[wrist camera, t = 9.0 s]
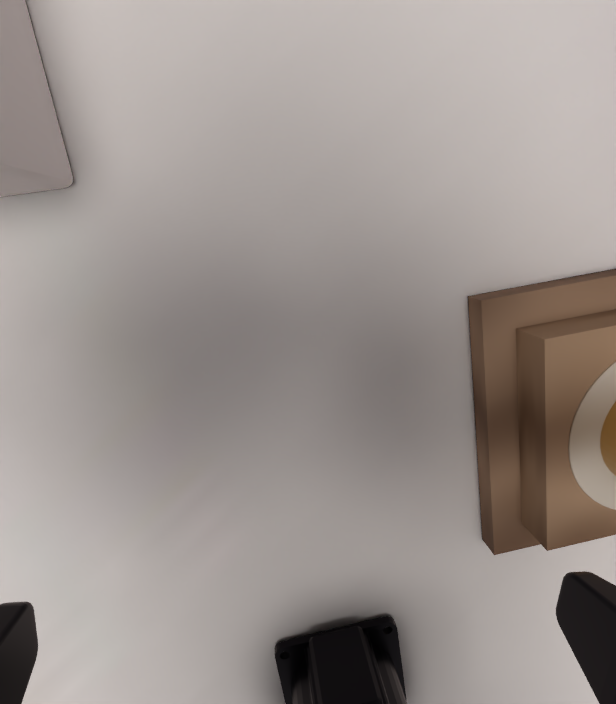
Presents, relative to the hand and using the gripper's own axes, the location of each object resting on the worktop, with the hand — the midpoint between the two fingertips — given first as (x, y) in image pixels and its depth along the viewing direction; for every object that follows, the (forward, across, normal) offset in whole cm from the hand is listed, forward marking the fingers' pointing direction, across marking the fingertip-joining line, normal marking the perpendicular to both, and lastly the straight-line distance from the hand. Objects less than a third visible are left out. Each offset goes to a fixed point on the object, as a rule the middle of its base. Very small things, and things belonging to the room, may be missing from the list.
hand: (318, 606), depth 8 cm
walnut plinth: (+13, -16, +2) cm, 21 cm away
